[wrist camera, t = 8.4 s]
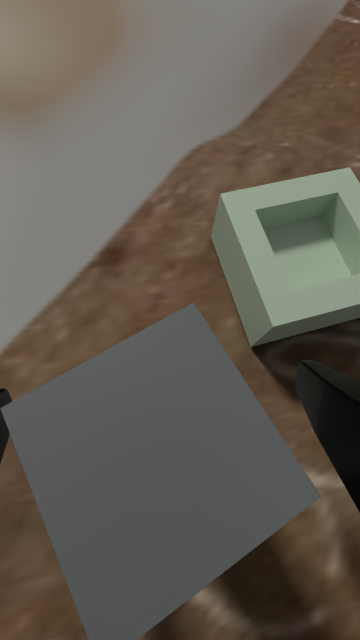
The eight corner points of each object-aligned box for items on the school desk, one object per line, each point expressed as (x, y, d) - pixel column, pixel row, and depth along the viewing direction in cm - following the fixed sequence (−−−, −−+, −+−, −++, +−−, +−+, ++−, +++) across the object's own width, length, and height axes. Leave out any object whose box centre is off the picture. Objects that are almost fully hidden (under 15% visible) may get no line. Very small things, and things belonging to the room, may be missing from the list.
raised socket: (369, 314, 18) (421, 287, 14) (250, 346, 17) (273, 326, 13) (317, 213, 21) (350, 167, 17) (211, 237, 20) (220, 193, 16)
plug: (212, 439, 15) (320, 496, 4) (155, 477, 15) (99, 669, 3) (178, 382, 16) (193, 302, 5) (124, 416, 16) (-1, 407, 4)
